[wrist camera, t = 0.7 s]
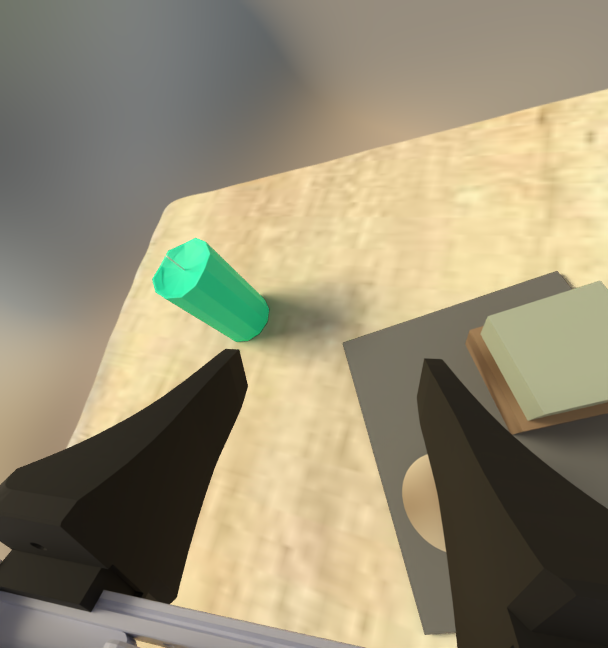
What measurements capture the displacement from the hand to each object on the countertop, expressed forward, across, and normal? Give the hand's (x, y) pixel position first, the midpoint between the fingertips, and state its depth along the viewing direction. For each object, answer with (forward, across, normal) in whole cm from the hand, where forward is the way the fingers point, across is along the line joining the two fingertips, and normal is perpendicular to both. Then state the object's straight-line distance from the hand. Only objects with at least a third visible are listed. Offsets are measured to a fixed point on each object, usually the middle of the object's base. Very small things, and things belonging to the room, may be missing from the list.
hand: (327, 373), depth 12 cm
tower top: (+8, -13, +5) cm, 16 cm away
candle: (+18, +11, +9) cm, 23 cm away
